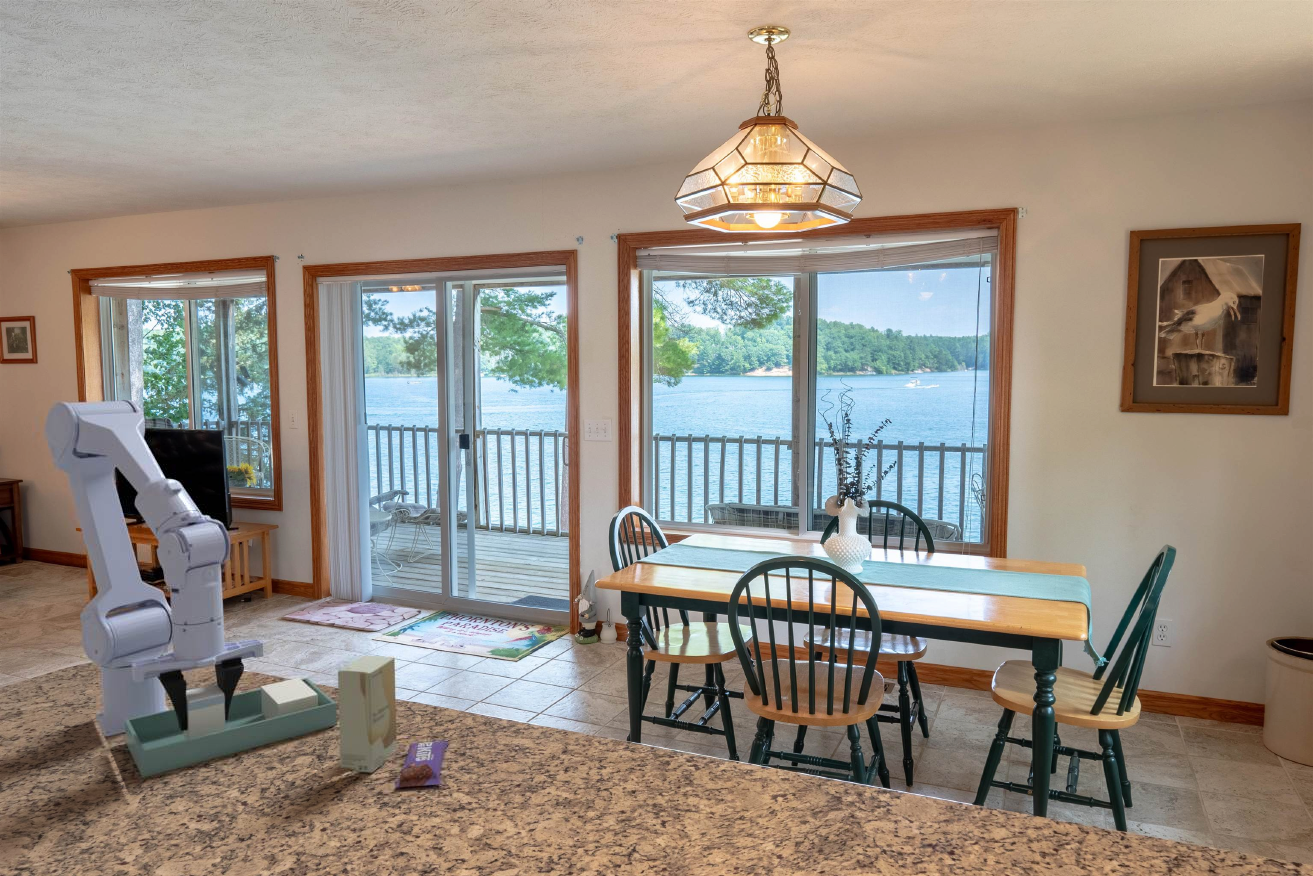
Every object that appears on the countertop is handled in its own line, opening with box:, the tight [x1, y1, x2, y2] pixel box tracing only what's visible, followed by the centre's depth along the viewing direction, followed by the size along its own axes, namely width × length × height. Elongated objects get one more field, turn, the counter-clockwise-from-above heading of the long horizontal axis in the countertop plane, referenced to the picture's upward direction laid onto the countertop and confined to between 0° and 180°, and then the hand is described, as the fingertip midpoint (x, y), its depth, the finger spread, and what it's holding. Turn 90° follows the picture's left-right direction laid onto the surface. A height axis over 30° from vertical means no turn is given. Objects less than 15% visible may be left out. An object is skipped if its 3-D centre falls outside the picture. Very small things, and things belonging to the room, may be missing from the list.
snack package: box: [395, 740, 450, 788], centre depth 102 cm, size 12×2×5 cm
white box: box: [260, 677, 318, 719], centre depth 114 cm, size 8×5×4 cm, turn 40°
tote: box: [125, 677, 338, 779], centre depth 110 cm, size 12×22×4 cm, turn 130°
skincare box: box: [337, 655, 398, 773], centre depth 103 cm, size 6×4×12 cm
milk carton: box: [184, 683, 226, 740], centre depth 107 cm, size 4×4×6 cm
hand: (203, 723), depth 108 cm, fingers closed on milk carton, 4 cm apart
